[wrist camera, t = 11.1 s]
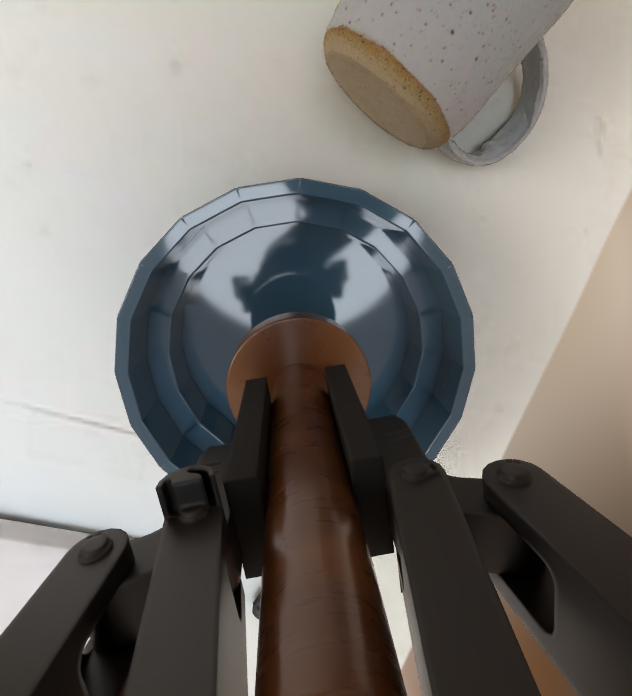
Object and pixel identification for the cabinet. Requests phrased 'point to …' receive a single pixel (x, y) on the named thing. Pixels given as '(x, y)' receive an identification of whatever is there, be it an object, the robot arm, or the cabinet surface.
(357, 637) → the wooden post on disc
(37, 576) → the file sorter
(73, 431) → the cabinet surface
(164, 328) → the bowl
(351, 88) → the ceramic mug
